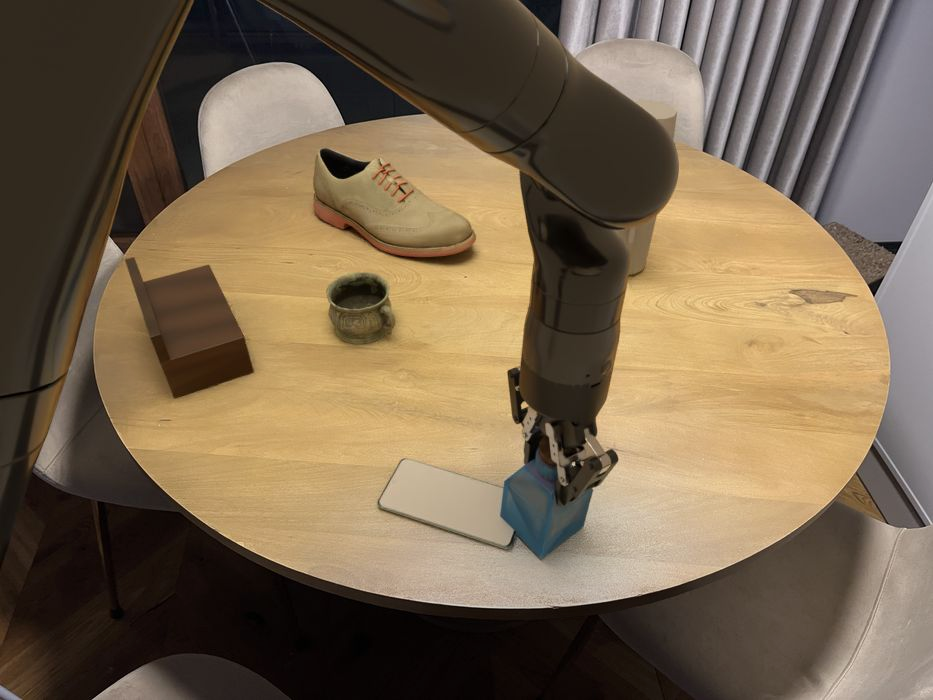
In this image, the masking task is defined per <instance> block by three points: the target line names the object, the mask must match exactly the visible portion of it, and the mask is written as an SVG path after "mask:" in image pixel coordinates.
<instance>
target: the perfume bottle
mask: <svg viewBox="0 0 933 700" xmlns="http://www.w3.org/2000/svg"><path fill="white" fill-rule="evenodd" d="M573 466H574V465H573V463H571V464H570V465H569V468H571V467H573ZM557 477H558V473H557V464H556V463H555V462H553V461H552V459H551V451H550V442H549V438H548V436H545V437H543V438H542V439H541V441H540V443H539V447H538V449H537V451H536V457H535V459H533V460H532V461H530V462H529V463H527V464H526V465H525V464H524V465H523V466H521V467H520V468H519V469H517V471H515V472H514V473H513V474H511V475H510V476H509V477H508V478H506V479H505V480H504V481H503V486H502V487H503V496H502V504H501V512H500V517H501V518H502V519H503V520H504V521H505V522H506V523H507V524H509V525H510V526H511V527H512V528H513V529H514V530H515V531H516V533H517V534H516V536H517V537H518V538H519V539H520V540H521V541H522V542H523V543H524V544H525V545H526V546H527V547H528V548H529V549H530V550H531V551H532V552H533V553H534V554H535V555H536V556H537V557H538V558H539V559H540V560H542V559H543V558H545V557H546V556H547V555H549V554H550V553H551V552H553V551H554V550H555V549H556V548H558V547H559V546H560V545H562V544H563V543H564V542H565V541H567V540H568V539H569V538H571V537H572V536H573V535H575V534H576V533H577V532H579V530H581V529H582V528H584V526H585V522H586V518H587V515H588V511H589V508H590V504H591V500H592V496H593V493H594V488H592V489H590V490H588V491H586V492H584V493H582V494H581V495H579V496H578V499H577V500H575V501H573V502H571V503H569V504H567V505H565V506H564V505H561V506H558V505H557V504H556V498H555V492H554V491H555V485H556V478H557Z"/></svg>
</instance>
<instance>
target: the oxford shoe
mask: <svg viewBox="0 0 933 700" xmlns="http://www.w3.org/2000/svg"><path fill="white" fill-rule="evenodd" d="M315 155H316V156H315V159H314V171H313V177H312V178H313V180H312V187H313V191H314V193H313V200H312V201H313V202H312V203H313V205H312V206H313V211H314V214H316V216H317V217H318V218H320V219H321V220H322V221H324V222H326V223H328V224H329V225H331V226H333V227H336V228H338V229H341V230H345V229H349V227H352V228H353V229H354V230H356V231H357V232H358V233H359V234H360V235H362V236H363V237H364V238H365V239H366V240H367V241H368V242H369V243H370V244H372V245H373V246H374V247H376V248H377V249H379V250H381V251H382V252H385V253H389V254H391V255H396V256H403V257H410V258H411V257H412V258H413V257H414V258H431V257H432V258H434V257H443V256H444V257H445V256H452V255H456V254H459V253H461V252H465V251H467V250H468V249H469V248H470V247H472V246H473V245H474V244H475V243H476V241H477V235H476V232H475V230H474V229H473V228H472V225H471V222H470V221H469V220H468V218H466V217H465V216H464V215H462V214H460V213H458V212H457V211H454V210H452V209H450V208H448V207H446V206H444V205H441V204H439V203H438V202H437V201H434V200H433V199H431V198H430V197H429V196H427V195H426V194H425V193H424V192H423V191H421V189H418V187H416V186H415V185H414V184H413V183H412V182H410V181H409V180H408V179H407V178H406V177H405V176H404V175H403V174H402V173H400V172H399V171H398V170H397V169H396V168H394V166H393V165H392V164H391V163H390V162H388V161H387V160H386V159H385V158H383V157H379V158H374V159H373V160H361V159H357V158H355V157H352V156H349V155H347V154H344V153H342V152H340V151H337V150H334V149H332V148H329V147H321V148H319V149H318V150H317V152H316V154H315Z"/></svg>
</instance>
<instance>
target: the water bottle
mask: <svg viewBox="0 0 933 700" xmlns="http://www.w3.org/2000/svg"><path fill="white" fill-rule="evenodd" d="M634 102H635V103H637V104H638V105H639V106H641V107H642V108H643V109H645V110H646V111H647V112H649V113H650V114H651V115H652V116H654V117H655V118H656V119H657V120H658V121H659V122H660V123H661V124H662V125H663V126H664V127H665V128H666V129H667V131H668V132H669V134H670V135H671V137H672V139H673V141H674V142H675V132H676V125H677V124H676V123H677V116H678V111H677V109H676V107H674V106H673V105H671V104H668V103H666V102H664V101H658V100H653V99H651V100H650V99H648V100H647V99H646V100H643V99H642V100H637V101H634ZM657 216H658V215H656V216H655V217H654V218H653V219H651V220H650V221H648V222H646V223H644V224H642V225H640V226H637V227H634V228H631V229H625V230H614V231H615V232H616V233H617V234H618V235H619V237H620V238H621V239H622V240H623V241H624V243H625V244H626V246H627V248H628V250H629V254H630V259H631V264H630V272H629V276H631V275H635V274H637V273H640V272H641V271H643V270H644V269H645V266H646V264H647V261H648V256H649V252H650V249H651V243H652V239H653V238H652V237H653V234H654V231H655V230H654V229H655V226H656V221H657Z"/></svg>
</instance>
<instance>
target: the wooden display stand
mask: <svg viewBox="0 0 933 700" xmlns="http://www.w3.org/2000/svg"><path fill="white" fill-rule="evenodd" d="M124 262H125V265H126V268H127V271H128V274H129V277H130V280H131V283H132V286H133V289H134V293H135V295H136V299H137V301H138V305H139V307H140V311H141V314H142V317H143V320H144V323H145V327H146V329H147V333H148V336H149V338H150V341H151V343H152V346H153V348H154V351H155V354H156V357H157V359H158V361H159V364H160V367H161V369H162V371H163V375H164V377H165V379H166V382H167V385H168V387H169V389H170V393H171V394H172V398H173V399H177V398H180V397H183V396H185V395H190V394H192V393H195V392H198V391H200V390H203V389H207V388H209V387H213V386H217V385H219V384H223V383H225V382H228V381H232V380H234V379H237V378H240V377H243V376H246V375H249V374H252V373H254V367H253V364H252V360H251V356H250V354H249V349H248V346H247V342H246V338H245V335H244V333H243V331H242V329H241V326H240V325H239V322H238V321H237V319H236V317H235V314H234V312H233V311H232V309H231V306H230V305H229V302H228V300H227V298H226V296H225V294H224V292H223V290H222V288H221V286H220V284H219V282H218V280H217V277H216V276H215V275H216V274H215V273H214V271H213V270H212V266H211V265H210V264H205V265H202V266H198V267H195V268H191V269H190V268H189V269H186V270H183V271H179V272H175V273H171V274H168V275H164V276H160V277H156V278H153V279H149V280H144V279H143V276H142V273H141V271H140V268H139V266H138V263H137V260H136V258H135V257H134V256H132V257H129V258H125V259H124Z"/></svg>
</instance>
